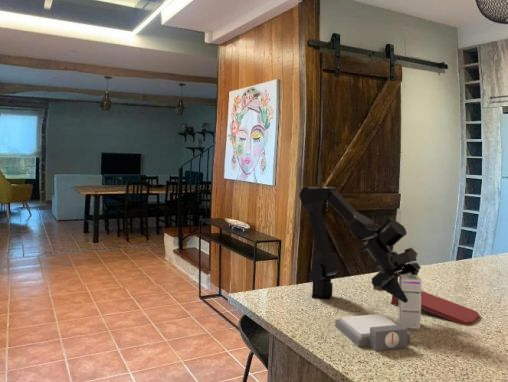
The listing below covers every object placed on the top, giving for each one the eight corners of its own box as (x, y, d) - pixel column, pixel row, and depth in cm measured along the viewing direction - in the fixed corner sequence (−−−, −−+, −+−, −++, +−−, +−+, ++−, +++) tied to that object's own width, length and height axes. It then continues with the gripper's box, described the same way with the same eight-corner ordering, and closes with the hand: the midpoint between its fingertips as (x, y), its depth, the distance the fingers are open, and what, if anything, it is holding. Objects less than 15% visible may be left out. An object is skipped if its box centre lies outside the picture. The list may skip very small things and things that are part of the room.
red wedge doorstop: (478, 327, 135) (403, 297, 152) (481, 313, 134) (405, 284, 151) (466, 338, 126) (388, 305, 143) (469, 323, 125) (390, 292, 142)
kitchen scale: (335, 326, 123) (335, 309, 123) (381, 322, 127) (382, 306, 127) (365, 353, 106) (366, 333, 106) (417, 347, 110) (418, 328, 110)
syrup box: (420, 329, 122) (423, 280, 121) (399, 327, 123) (401, 278, 122) (417, 322, 128) (419, 274, 127) (396, 320, 129) (398, 273, 128)
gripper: (382, 242, 121) (416, 290, 113) (416, 236, 133) (449, 279, 125) (358, 264, 127) (389, 311, 120) (392, 256, 139) (423, 298, 132)
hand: (414, 299), depth 124 cm, fingers closed on syrup box, 8 cm apart
